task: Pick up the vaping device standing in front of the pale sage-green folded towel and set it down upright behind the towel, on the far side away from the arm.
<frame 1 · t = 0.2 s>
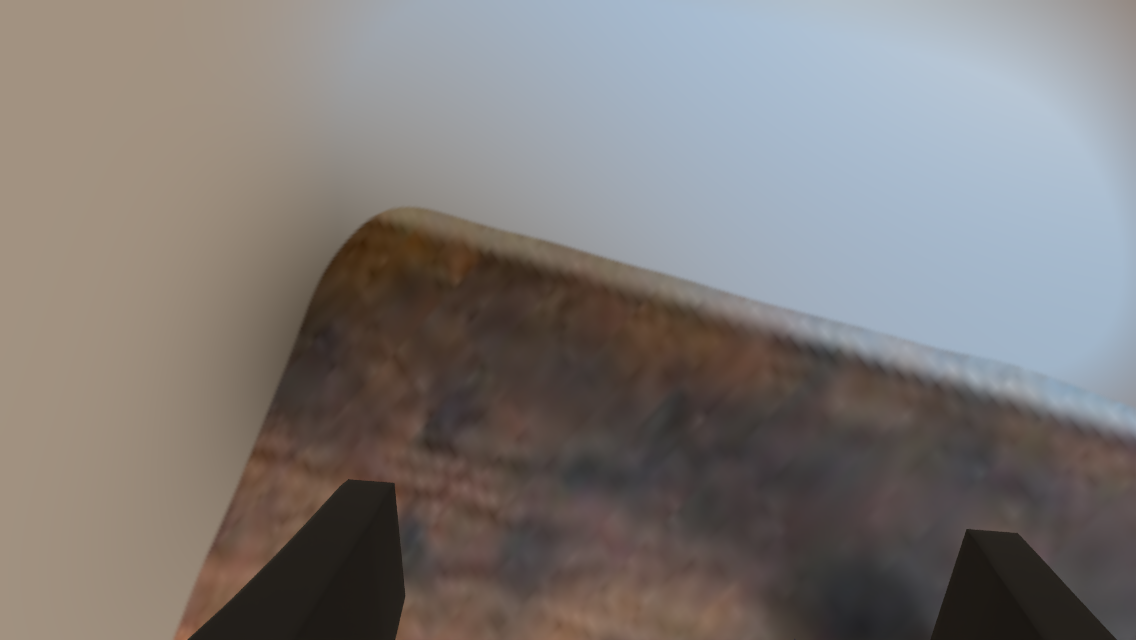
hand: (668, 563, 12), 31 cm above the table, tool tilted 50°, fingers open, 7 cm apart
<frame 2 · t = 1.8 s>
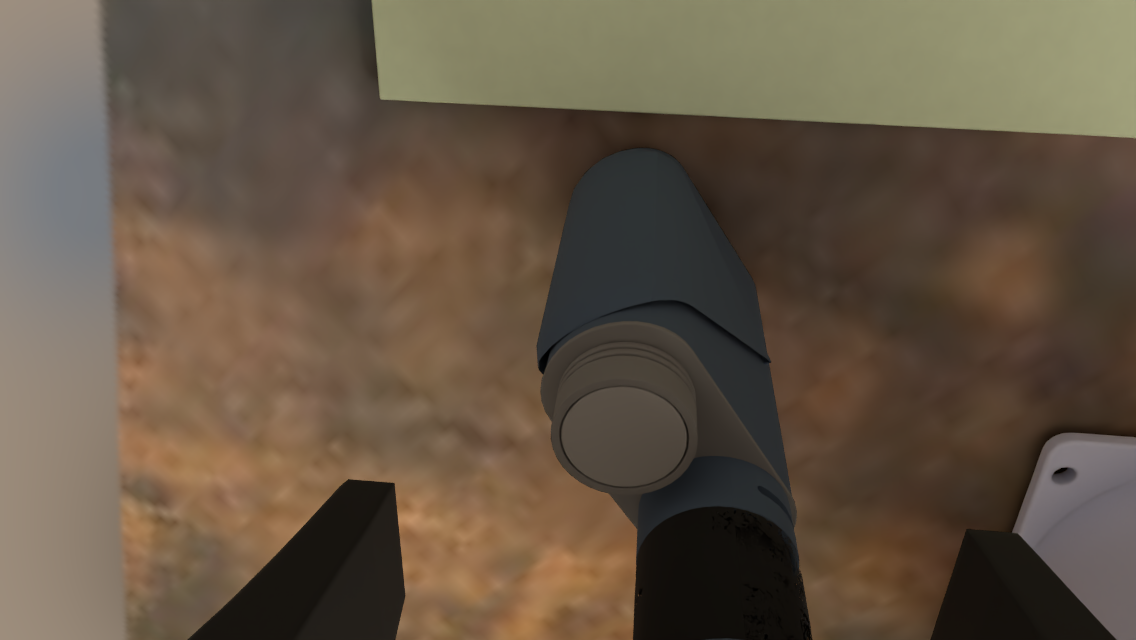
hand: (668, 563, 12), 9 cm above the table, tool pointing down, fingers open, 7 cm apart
vaping device: (668, 241, 20), on the table
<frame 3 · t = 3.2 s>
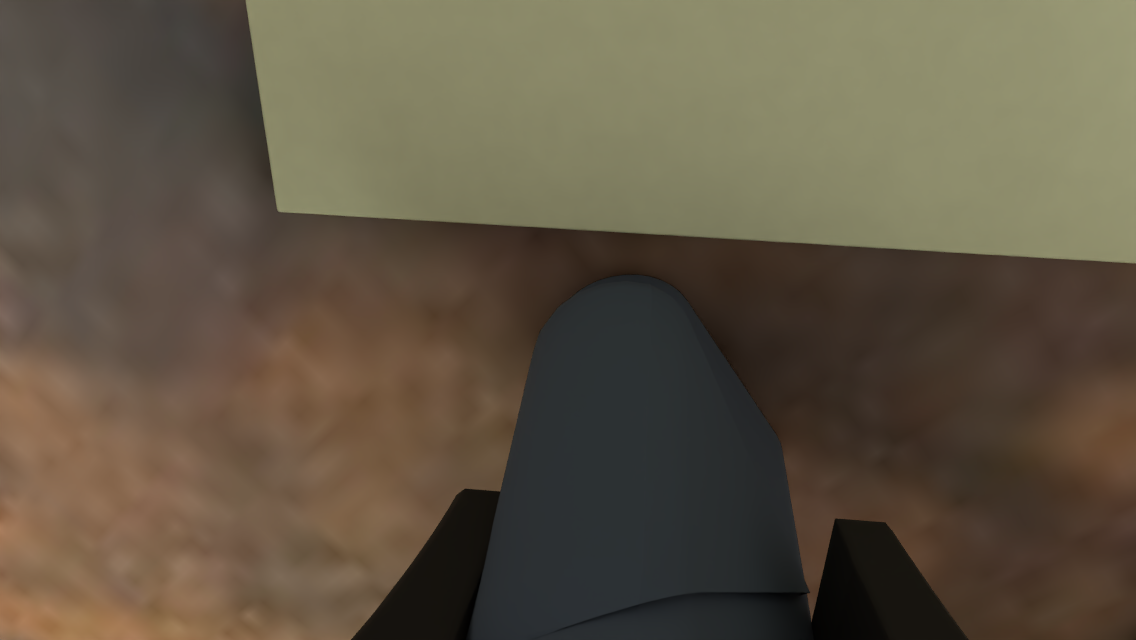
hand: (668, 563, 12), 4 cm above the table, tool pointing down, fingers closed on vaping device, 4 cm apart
vaping device: (666, 386, 15), on the table, touching gripper
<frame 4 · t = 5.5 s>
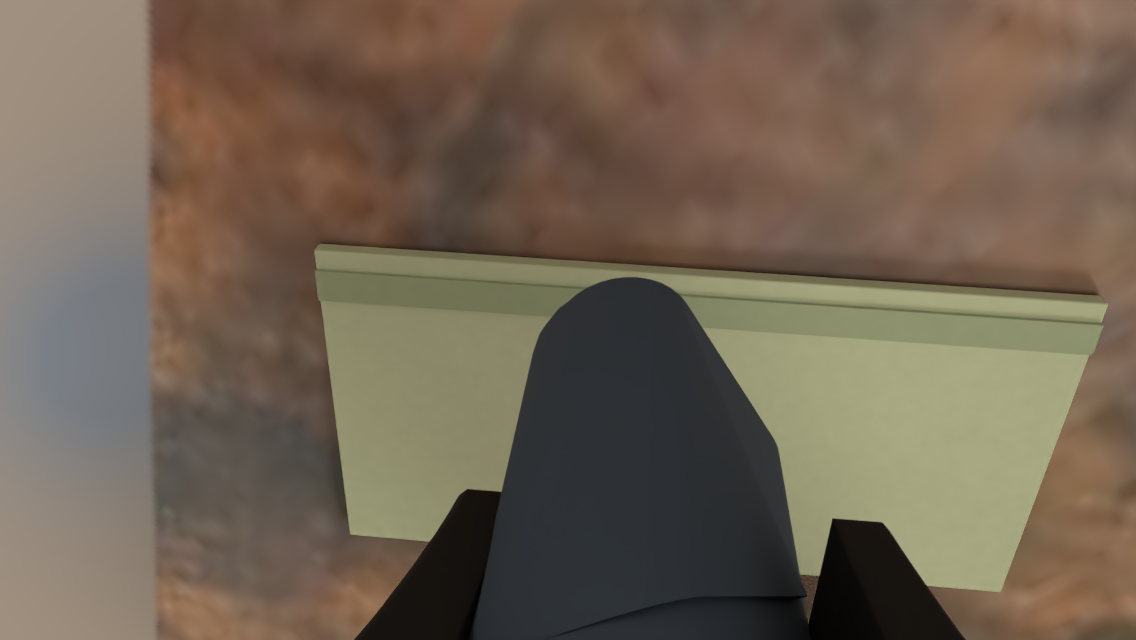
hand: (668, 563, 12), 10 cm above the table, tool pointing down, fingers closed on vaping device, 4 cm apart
vaping device: (664, 388, 15), point 6 cm above the table, touching gripper
towel: (681, 424, 24), on the table
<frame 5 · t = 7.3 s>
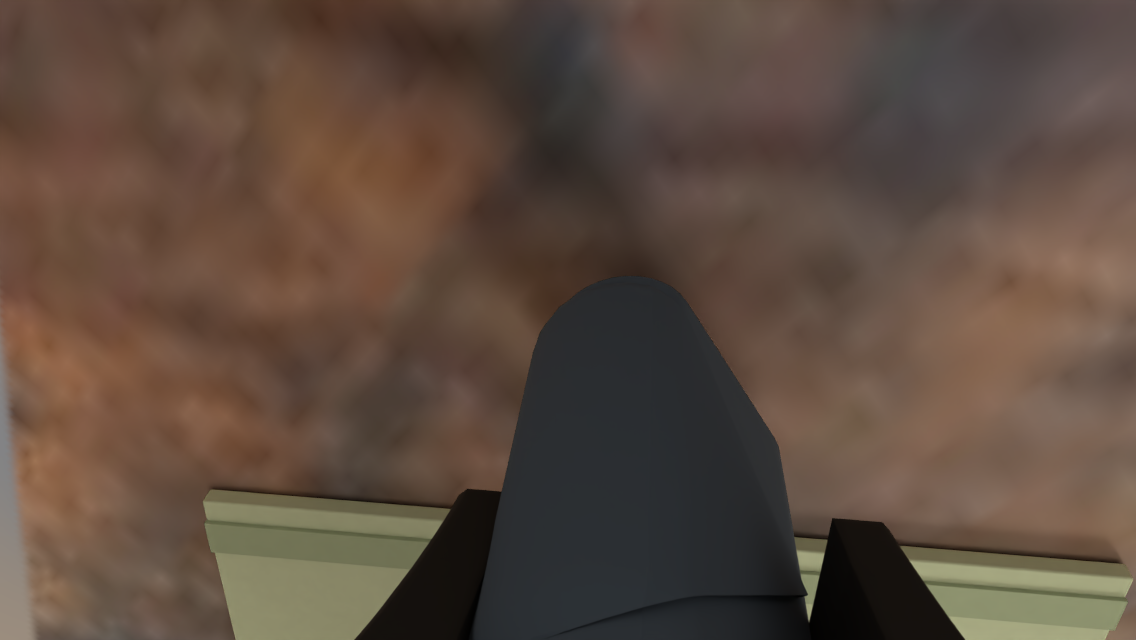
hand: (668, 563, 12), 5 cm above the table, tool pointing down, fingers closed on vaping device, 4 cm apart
vaping device: (665, 387, 15), point 1 cm above the table, touching gripper
when the fingers open (4 cm above the table, at t = 8.1 s): vaping device stays where it is, on the table.
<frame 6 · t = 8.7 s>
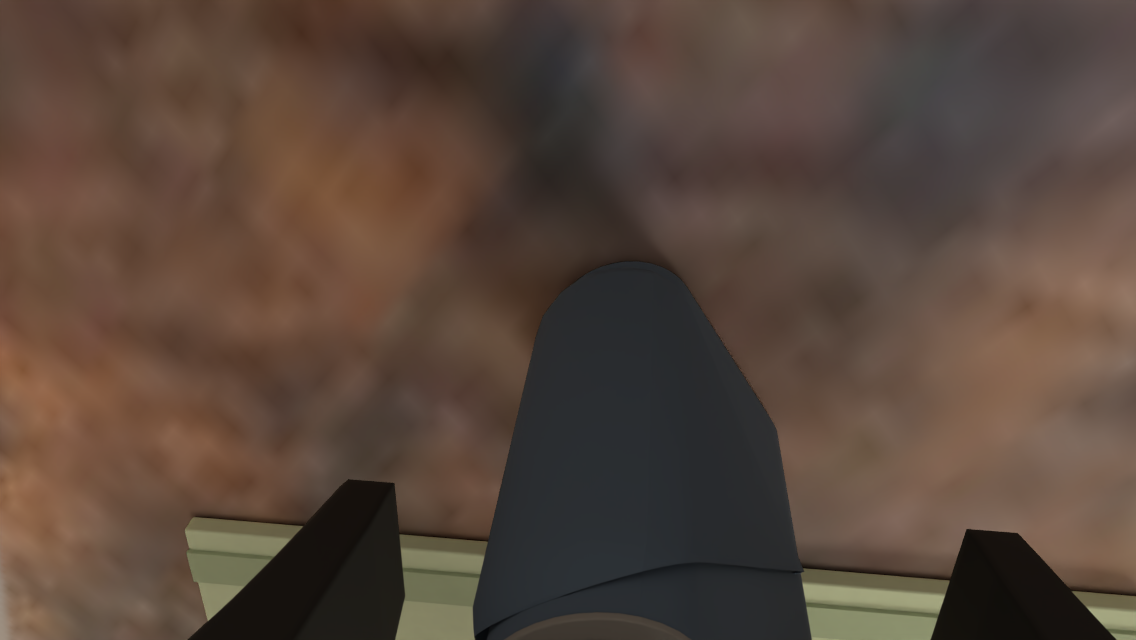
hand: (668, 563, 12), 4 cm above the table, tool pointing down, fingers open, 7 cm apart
vaping device: (665, 372, 16), on the table
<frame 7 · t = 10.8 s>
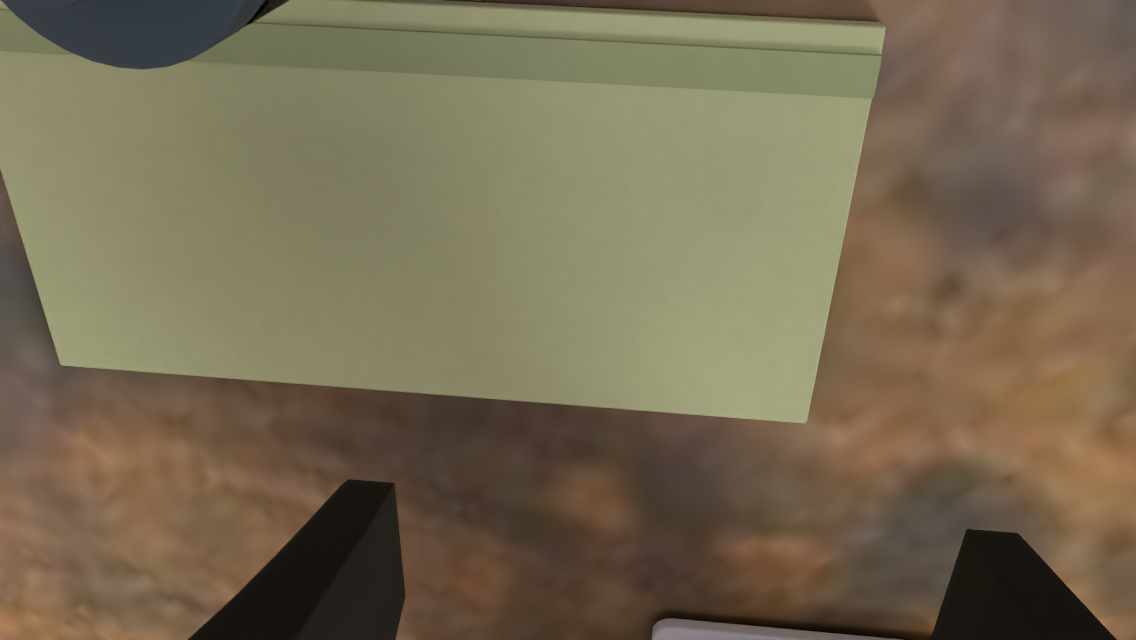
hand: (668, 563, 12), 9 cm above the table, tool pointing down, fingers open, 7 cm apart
towel: (416, 213, 20), on the table
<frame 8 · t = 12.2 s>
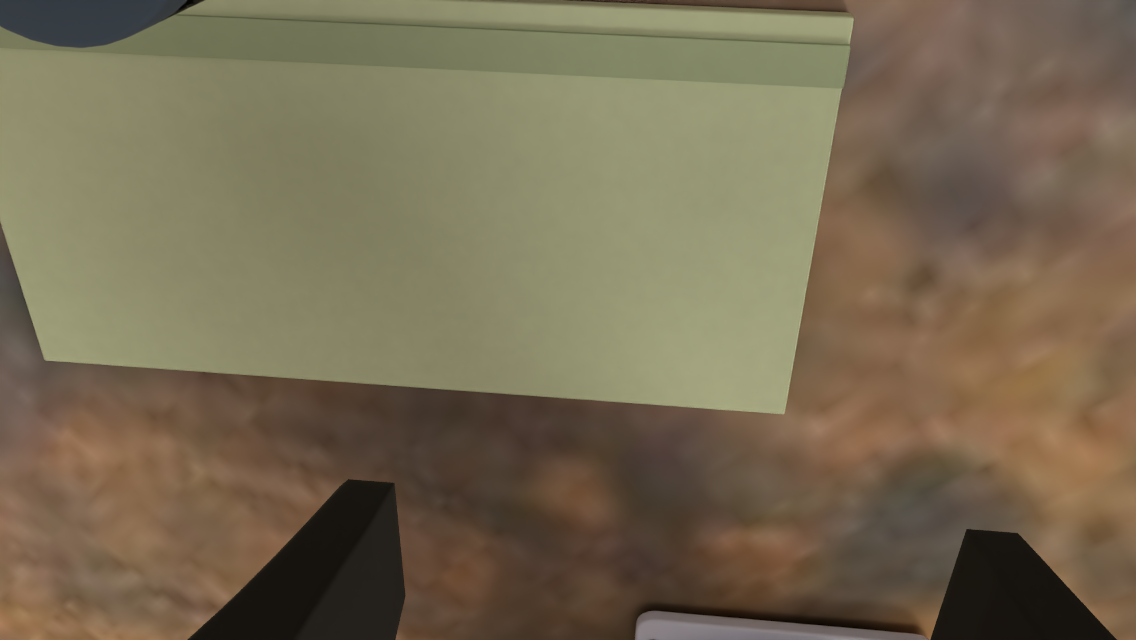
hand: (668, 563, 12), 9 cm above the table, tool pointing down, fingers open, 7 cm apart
towel: (394, 206, 20), on the table
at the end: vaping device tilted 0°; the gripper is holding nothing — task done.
